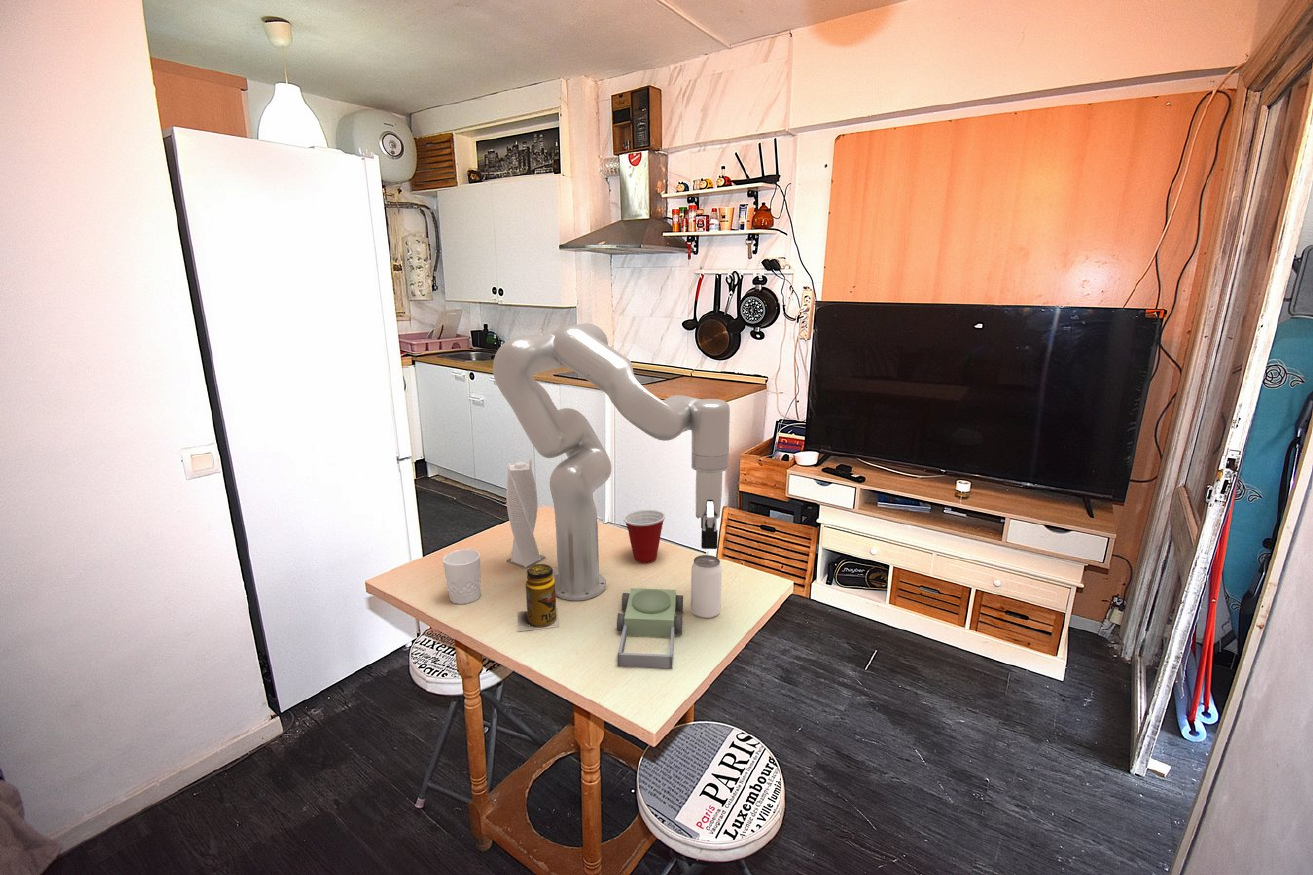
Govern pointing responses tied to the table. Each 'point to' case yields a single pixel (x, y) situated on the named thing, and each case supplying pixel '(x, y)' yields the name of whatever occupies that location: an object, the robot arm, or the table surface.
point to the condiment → (539, 600)
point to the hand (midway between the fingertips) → (708, 538)
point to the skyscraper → (522, 514)
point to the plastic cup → (644, 533)
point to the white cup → (463, 575)
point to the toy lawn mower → (649, 624)
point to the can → (706, 586)
